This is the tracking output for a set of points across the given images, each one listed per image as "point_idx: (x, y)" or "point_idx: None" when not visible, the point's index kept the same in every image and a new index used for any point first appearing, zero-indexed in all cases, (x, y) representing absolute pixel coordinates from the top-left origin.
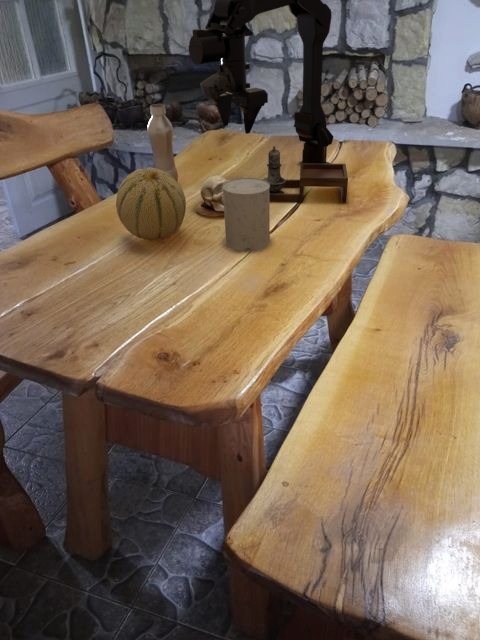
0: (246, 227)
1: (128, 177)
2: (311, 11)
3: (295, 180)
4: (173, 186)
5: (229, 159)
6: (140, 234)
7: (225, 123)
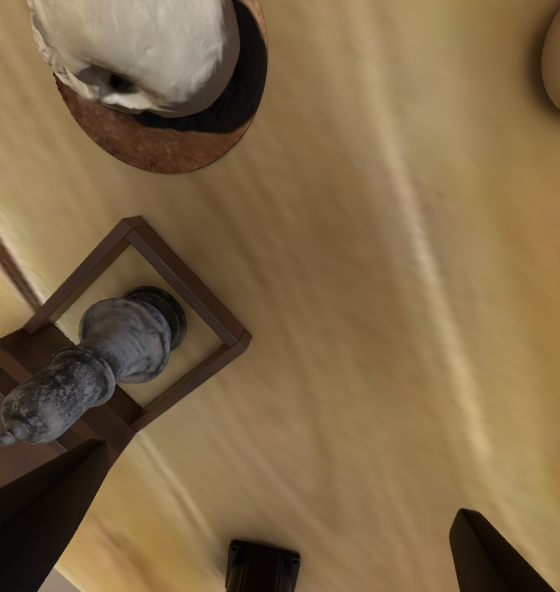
0: None
1: None
2: None
3: (138, 418)
4: None
5: (551, 484)
6: None
7: (466, 541)
